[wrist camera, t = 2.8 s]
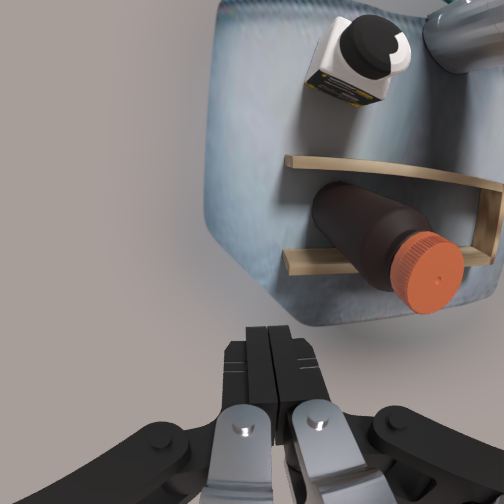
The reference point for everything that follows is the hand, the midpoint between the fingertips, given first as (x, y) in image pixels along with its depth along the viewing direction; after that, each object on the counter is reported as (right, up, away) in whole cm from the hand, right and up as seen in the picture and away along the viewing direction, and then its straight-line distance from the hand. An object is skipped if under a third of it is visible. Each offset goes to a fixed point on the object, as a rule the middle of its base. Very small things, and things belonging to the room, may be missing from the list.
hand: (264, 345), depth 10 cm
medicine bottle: (+10, +25, +18) cm, 32 cm away
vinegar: (+10, +9, +23) cm, 27 cm away
